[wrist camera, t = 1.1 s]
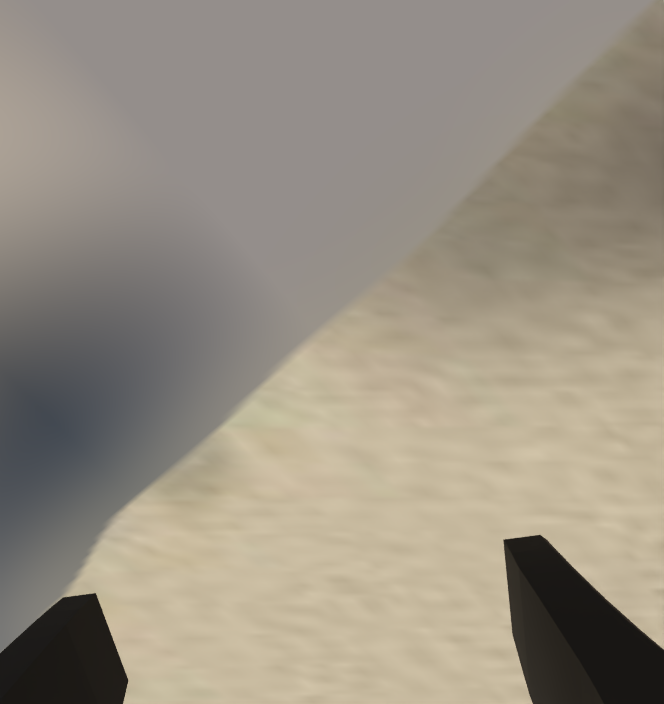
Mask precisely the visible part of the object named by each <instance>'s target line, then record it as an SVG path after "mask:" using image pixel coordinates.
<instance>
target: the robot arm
mask: <svg viewBox="0 0 664 704" xmlns="http://www.w3.org/2000/svg"><path fill="white" fill-rule="evenodd" d="M504 550H505V560H506V571H507V581H508V591H509V602H510V612H511V622H512V633H513V637H514V641H515V645H516V648H517V652H518V656H519V659H520V663H521V666H522V670H523V673H524V677H525V680H526V684H527V687H528V691H529V694H530V697H531V700H532V702H533V704H664V650H663V649H662V648H661V647H660V646H659V645H657V644H656V643H655V642H654V641H653V640H651V639H650V638H649V637H648V636H647V635H646V634H644V633H643V632H642V631H641V630H640V629H639V628H637V627H636V626H635V625H634V624H633V623H632V622H631V621H630V620H629V619H627V618H626V617H625V616H624V615H623V614H622V613H621V612H620V611H619V610H617V609H616V608H615V607H614V606H613V605H612V604H611V603H610V602H609V601H607V600H606V599H605V598H604V597H603V596H602V595H601V594H600V593H599V592H598V591H597V590H596V589H595V588H594V587H593V586H592V585H591V584H590V583H589V582H587V581H586V580H585V579H584V578H583V577H582V576H581V575H580V574H579V573H578V572H577V571H576V570H575V569H574V568H573V567H572V566H571V565H570V564H569V563H568V562H567V561H566V560H565V559H564V557H563V556H562V555H561V554H560V553H559V552H558V551H557V550H556V549H555V548H554V547H553V546H552V545H551V544H550V543H549V542H548V541H547V540H546V539H545V538H544V537H542V536H541V535H536V536H528V537H521V538H513V539H506V540H504ZM127 684H128V678H127V676H126V673H125V670H124V668H123V665H122V662H121V660H120V657H119V654H118V652H117V649H116V646H115V644H114V641H113V638H112V636H111V633H110V630H109V628H108V625H107V622H106V620H105V617H104V614H103V611H102V609H101V606H100V603H99V601H98V598H97V595H96V593H94V594H86V595H79V596H71V597H64V598H62V599H61V600H60V601H58V602H57V603H56V604H55V605H53V606H52V607H51V608H50V609H49V610H48V611H46V612H45V613H44V614H43V615H42V616H41V617H40V618H38V619H37V620H36V621H35V622H34V623H33V624H32V625H31V626H29V627H28V628H27V629H26V630H25V631H24V632H23V633H22V634H21V635H20V636H18V637H17V638H16V639H15V640H14V641H13V642H12V643H11V644H10V645H9V646H8V647H7V648H6V649H4V650H3V651H2V652H1V653H0V704H123V701H124V697H125V692H126V688H127Z"/></svg>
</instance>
